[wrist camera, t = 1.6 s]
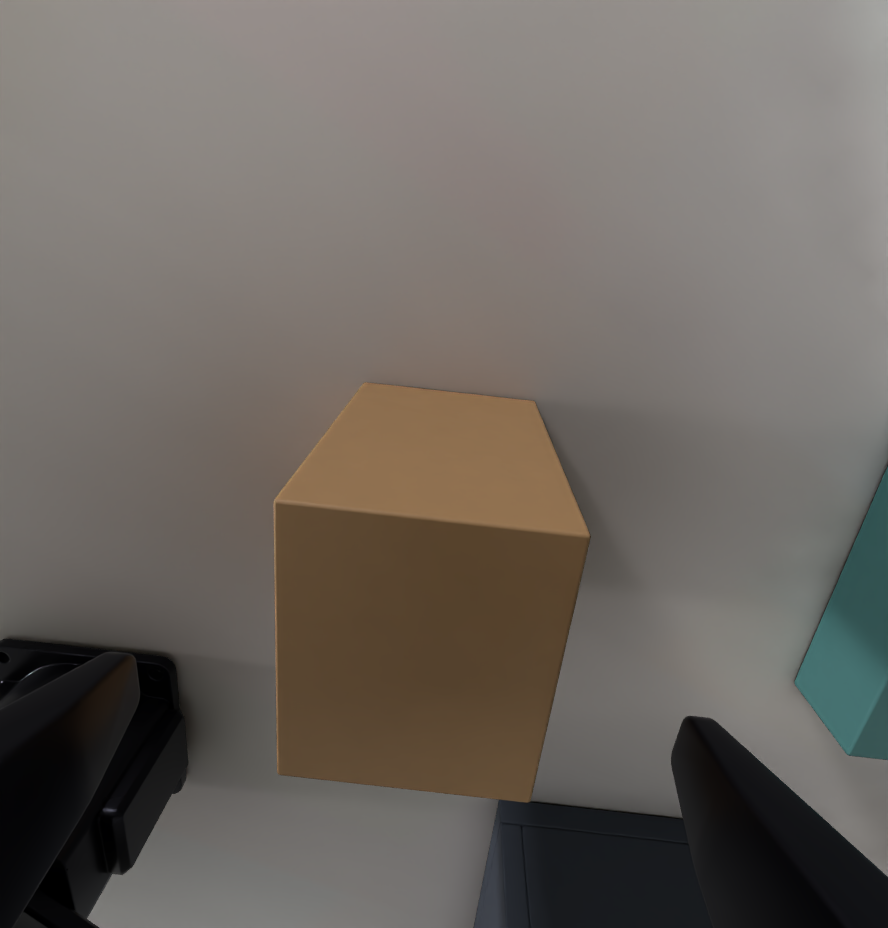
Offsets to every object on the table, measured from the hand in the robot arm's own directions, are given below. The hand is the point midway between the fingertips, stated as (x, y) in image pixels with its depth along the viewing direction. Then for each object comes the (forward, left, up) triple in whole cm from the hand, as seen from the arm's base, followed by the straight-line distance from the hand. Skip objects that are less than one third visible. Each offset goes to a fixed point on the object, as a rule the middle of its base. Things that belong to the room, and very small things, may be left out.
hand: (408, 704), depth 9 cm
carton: (0, 0, -9) cm, 9 cm away
